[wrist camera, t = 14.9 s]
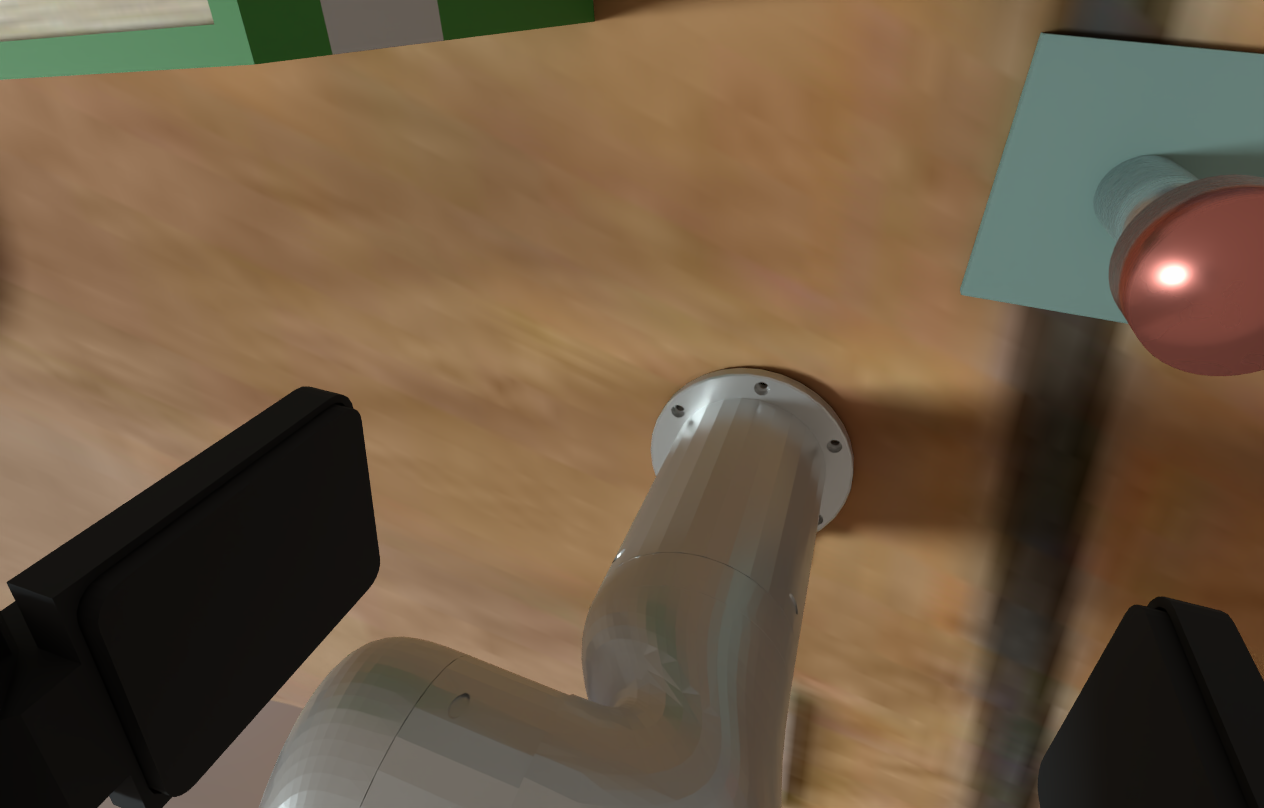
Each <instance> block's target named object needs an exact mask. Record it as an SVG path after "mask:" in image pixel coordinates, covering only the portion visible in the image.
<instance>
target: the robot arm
mask: <svg viewBox="0 0 1264 808" xmlns="http://www.w3.org/2000/svg"><path fill="white" fill-rule="evenodd" d="M760 382H764V383H766V384H767V385H762V384H761V383H760ZM679 405H680V406H682V407H683V408H682V407H680V406H679ZM832 440H837V441H838V442H834V441H832ZM651 456H652V465H653V468H654V471H655V475H656V478H655V480H654V482H653V484H652V486H651V488H650V490H649V492H648V494H647V496H646V498H645V500H644V502H643V504H642V506H641V508H640V509H639V511H638V513H637V515H636V517H635V519H634V521H633V523H632V525H631V527H630V529H629V531H628V533H627V535H626V537H625V539H624V541H623V543H622V545H621V547H620V549H619V551H618V553H617V555H616V557H615V559H614V561H613V563H612V565H611V567H610V569H609V570H608V572H607V574H606V576H605V578H604V580H603V582H602V584H601V586H600V588H599V590H598V592H597V594H596V596H595V598H594V600H593V602H592V604H591V607H590V609H589V612H588V615H587V618H586V622H585V627H584V631H583V637H582V669H583V675H584V682H585V688H586V692H587V696H588V700H587V699H584V698H581V697H579V696H576V695H573V694H572V695H567V694H565V693H562V692H560V691H557V690H555V689H552V688H550V687H547V686H545V685H542V684H539V683H537V682H534V681H532V680H529V679H527V678H524V677H522V676H519V675H517V674H514V673H512V672H509V671H507V670H504V669H502V668H499V667H497V666H494V665H492V664H489V663H487V662H484V661H482V660H479V659H477V658H474V657H472V656H469V655H467V654H464V653H462V652H459V651H456V650H454V649H451V648H449V647H446V646H442V645H439V644H436V643H433V642H430V641H426V640H422V639H417V638H409V637H391V638H384V639H380V640H377V641H373V642H370V643H368V644H366V645H364V646H362V647H360V648H359V649H357V650H355V651H353V652H352V653H351V654H349V655H348V656H347V657H345V658H344V659H343V660H342V661H341V662H340V663H339V664H338V665H337V666H336V667H335V668H334V669H333V670H332V671H331V672H330V673H329V674H328V675H327V676H326V678H325V679H324V680H323V681H322V683H321V684H320V685H319V686H318V688H317V689H316V690H315V692H314V693H313V695H312V696H311V698H310V699H309V701H308V702H307V704H306V705H305V707H304V708H303V710H302V712H301V714H300V715H299V717H298V719H297V721H296V723H295V725H294V727H293V729H292V731H291V733H290V735H289V737H288V739H287V740H286V743H285V745H284V747H283V749H282V751H281V753H280V755H279V757H278V760H277V762H276V765H275V767H274V769H273V772H272V774H271V777H270V779H269V782H268V784H267V787H266V789H265V792H264V795H263V798H262V801H261V803H260V806H259V808H782V803H781V788H782V761H783V750H784V739H785V728H786V721H787V713H788V706H789V699H790V692H791V686H792V679H793V673H794V667H795V661H796V654H797V648H798V642H799V636H800V630H801V624H802V618H803V612H804V606H805V600H806V594H807V588H808V582H809V576H810V570H811V564H812V558H813V552H814V546H815V539H816V533H817V532H818V531H820V530H821V529H823V528H824V527H825V526H826V525H827V524H828V523H830V522H831V521H832V520H833V519H834V518H835V517H836V516H837V514H838V513H839V511H840V510H841V509H842V507H843V506H844V504H845V502H846V500H847V497H848V495H849V492H850V490H851V485H852V478H853V465H854V456H853V451H852V446H851V441H850V438H849V436H848V434H847V431H846V429H845V427H844V425H843V423H842V421H841V420H840V419H839V417H838V416H837V414H836V413H835V412H834V410H833V409H832V407H831V406H829V405H828V404H827V403H826V402H825V401H824V400H823V399H822V398H821V397H820V396H819V395H818V394H817V393H815V392H814V391H812V390H811V389H809V388H808V387H806V386H805V385H803V384H802V383H800V382H798V381H795V380H793V379H791V378H789V377H786V376H784V375H782V374H778V373H774V372H770V371H766V370H762V369H752V368H733V369H723V370H719V371H715V372H712V373H708V374H705V375H702V376H700V377H698V378H696V379H695V380H693V381H691V382H689V383H687V384H686V385H685V386H683V387H682V388H681V389H680V390H679V391H677V392H676V393H675V394H674V395H673V396H672V398H671V399H670V400H669V401H668V403H667V404H666V405H665V407H664V408H663V410H662V412H661V414H660V416H659V417H658V419H657V422H656V425H655V428H654V431H653V434H652V442H651ZM379 567H380V555H379V547H378V540H377V532H376V525H375V517H374V510H373V502H372V495H371V487H370V480H369V472H368V465H367V457H366V450H365V442H364V435H363V427H362V420H361V416H360V414H359V412H358V411H357V410H355V409H353V406H352V403H351V401H350V400H349V398H348V397H346V396H344V395H341V394H337V393H333V392H329V391H325V390H321V389H317V388H313V387H300V388H298V389H296V390H294V391H293V392H291V393H290V394H288V395H287V396H285V397H284V398H282V399H281V400H279V401H278V402H276V403H275V404H273V405H272V406H270V407H269V408H267V409H266V410H264V411H263V412H261V413H260V414H258V415H257V416H255V417H254V418H252V419H251V420H249V421H248V422H246V423H245V424H243V425H242V426H240V427H239V428H237V429H236V430H234V431H233V432H231V433H230V434H228V435H227V436H225V437H224V438H222V439H221V440H219V441H218V442H216V443H215V444H213V445H212V446H210V447H209V448H207V449H206V450H204V451H203V452H201V453H200V454H198V455H197V456H195V457H194V458H192V459H191V460H189V461H188V462H186V463H185V464H183V465H182V466H180V467H179V468H177V469H176V470H174V471H173V472H171V473H170V474H168V475H167V476H165V477H164V478H162V479H161V480H159V481H158V482H156V483H155V484H153V485H152V486H150V487H149V488H147V489H146V490H144V491H143V492H141V493H140V494H138V495H137V496H135V497H134V498H132V499H131V500H129V501H128V502H126V503H125V504H123V505H122V506H120V507H119V508H117V509H116V510H114V511H113V512H111V513H110V514H108V515H107V516H105V517H104V518H102V519H101V520H99V521H98V522H96V523H95V524H93V525H92V526H90V527H89V528H87V529H86V530H84V531H83V532H81V533H80V534H78V535H77V536H75V537H74V538H72V539H71V540H69V541H68V542H66V543H65V544H63V545H62V546H60V547H59V548H57V549H56V550H54V551H53V552H51V553H50V554H48V555H47V556H45V557H44V558H42V559H41V560H39V561H38V562H36V563H35V564H33V565H32V566H30V567H29V568H27V569H26V570H24V571H23V572H21V573H20V574H18V575H17V576H15V577H14V578H12V579H11V580H9V581H8V582H7V584H8V586H9V588H10V591H11V593H12V595H13V597H14V599H15V602H13V603H12V604H10V605H9V606H7V607H6V608H5V609H3V610H2V611H0V808H97V807H98V806H99V805H100V804H101V803H102V802H103V801H104V800H105V799H106V798H107V797H108V796H109V797H110V798H111V801H112V803H113V804H114V805H116V806H119V807H121V808H163V806H164V805H165V804H166V803H167V802H168V801H169V800H170V799H171V798H172V797H177V796H180V795H182V794H184V793H185V792H187V791H188V790H189V789H191V788H192V787H193V786H194V785H195V784H196V783H197V782H198V781H199V779H200V778H201V777H202V776H203V775H204V774H205V773H206V772H207V770H208V769H209V768H210V767H211V766H212V765H213V764H214V762H215V761H216V760H217V759H218V758H219V757H220V756H221V755H222V753H223V752H224V751H225V750H226V749H227V748H228V747H229V745H230V744H231V743H232V742H233V741H234V740H235V739H236V738H237V737H238V735H239V734H240V733H241V732H242V731H243V730H244V729H245V728H246V726H247V725H248V724H249V723H250V722H251V721H252V720H253V719H254V717H255V716H256V715H257V714H258V713H259V712H260V711H261V709H262V708H263V707H264V706H265V705H266V704H267V703H268V702H269V701H270V699H271V698H272V697H273V696H274V695H275V694H276V693H277V692H278V690H279V689H280V688H281V687H282V686H283V685H284V684H285V683H286V681H287V680H288V679H289V678H290V677H291V676H292V675H293V674H294V672H295V671H296V670H297V669H298V668H299V667H300V666H301V665H302V663H303V662H304V661H305V660H306V659H307V658H308V657H309V656H310V654H311V653H312V652H313V651H314V650H315V649H316V648H317V647H318V645H319V644H320V643H321V642H322V641H323V640H324V639H325V637H326V636H327V635H328V634H329V633H330V632H331V631H332V630H333V628H334V627H335V626H336V625H337V624H338V623H339V622H340V621H341V619H342V618H343V617H344V616H345V615H346V614H347V613H348V612H349V610H350V609H351V608H352V607H353V606H354V605H355V604H356V603H357V601H358V600H359V599H360V598H361V597H362V596H363V595H364V594H365V592H366V591H367V590H368V589H369V588H370V587H371V585H372V584H373V583H374V581H375V579H376V577H377V574H378V571H379ZM1038 796H1039V802H1040V808H1264V681H1263V679H1262V677H1261V675H1260V673H1259V671H1258V669H1257V667H1256V665H1255V663H1254V661H1253V659H1252V657H1251V655H1250V653H1249V651H1248V649H1247V647H1246V645H1245V643H1244V641H1243V639H1242V637H1241V635H1240V633H1239V632H1238V630H1237V628H1236V626H1235V624H1234V622H1233V621H1232V619H1231V618H1230V617H1229V615H1228V614H1226V613H1224V612H1222V611H1220V610H1216V609H1212V608H1208V607H1204V606H1199V605H1195V604H1191V603H1187V602H1183V601H1179V600H1175V599H1171V598H1167V597H1156V598H1155V599H1153V600H1152V601H1151V602H1150V603H1149V604H1148V606H1147V607H1146V606H1142V605H1133V606H1132V607H1130V608H1129V609H1128V611H1127V612H1126V613H1125V615H1124V617H1123V619H1122V620H1121V622H1120V624H1119V626H1118V627H1117V629H1116V631H1115V633H1114V634H1113V636H1112V638H1111V640H1110V642H1109V643H1108V645H1107V647H1106V649H1105V650H1104V652H1103V654H1102V656H1101V657H1100V659H1099V661H1098V663H1097V664H1096V666H1095V668H1094V670H1093V671H1092V673H1091V675H1090V677H1089V678H1088V680H1087V682H1086V684H1085V685H1084V687H1083V689H1082V691H1081V693H1080V694H1079V696H1078V698H1077V700H1076V701H1075V703H1074V705H1073V707H1072V708H1071V710H1070V712H1069V714H1068V715H1067V717H1066V719H1065V721H1064V722H1063V724H1062V726H1061V728H1060V729H1059V731H1058V733H1057V735H1056V736H1055V738H1054V740H1053V742H1052V744H1051V745H1050V747H1049V749H1048V751H1047V752H1046V754H1045V756H1044V758H1043V760H1042V762H1041V765H1040V769H1039V775H1038Z"/></svg>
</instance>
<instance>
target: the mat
mask: <svg viewBox="0 0 1264 808" xmlns="http://www.w3.org/2000/svg"><path fill="white" fill-rule="evenodd" d="M1142 155H1158V156H1163V157H1166V158H1169V159H1171V160H1173V161H1174V162H1176V163H1177V164H1178V165H1180V166H1181V167H1183V168H1184V169H1185V170H1187V171H1188V172H1190V173H1191V174H1192V175H1194V176H1195V177H1197V178H1198V179H1203V178H1206V177H1212V176H1218V175H1231V174H1240V175H1252V176H1257V177H1262V178H1264V54H1263V53H1252V52H1242V51H1231V50H1221V49H1210V48H1200V47H1189V46H1178V45H1168V44H1157V43H1147V42H1136V41H1125V40H1115V39H1104V38H1094V37H1083V36H1072V35H1062V34H1051V33H1041V34H1040V37H1039V40H1038V43H1037V47H1036V50H1035V53H1034V56H1033V59H1032V62H1031V66H1030V69H1029V72H1028V75H1027V78H1026V82H1025V85H1024V88H1023V91H1022V94H1021V97H1020V101H1019V104H1018V107H1017V110H1016V113H1015V116H1014V120H1013V123H1012V126H1011V129H1010V132H1009V136H1008V139H1007V142H1006V145H1005V148H1004V151H1003V155H1002V158H1001V161H1000V164H999V167H998V171H997V174H996V177H995V180H994V183H993V186H992V190H991V193H990V196H989V199H988V202H987V205H986V209H985V212H984V215H983V218H982V221H981V225H980V228H979V231H978V234H977V237H976V240H975V244H974V247H973V250H972V253H971V256H970V260H969V263H968V266H967V269H966V272H965V275H964V279H963V282H962V285H961V288H960V292H961V295H966V296H971V297H977V298H983V299H989V300H994V301H1000V302H1006V303H1012V304H1018V305H1023V306H1029V307H1035V308H1041V309H1047V310H1052V311H1058V312H1064V313H1070V314H1076V315H1081V316H1087V317H1093V318H1099V319H1104V320H1110V321H1116V322H1122V323H1128V322H1127V320H1126V319H1125V317H1124V316H1123V314H1122V313H1121V311H1120V310H1119V308H1118V306H1117V305H1116V303H1115V301H1114V299H1113V296H1112V293H1111V290H1110V286H1109V264H1110V259H1111V256H1112V253H1113V250H1114V247H1115V245H1116V242H1115V241H1114V240H1113V238H1112V237H1111V236H1110V235H1109V233H1108V232H1107V231H1106V230H1105V228H1104V227H1103V226H1102V224H1101V223H1100V222H1099V221H1098V219H1097V217H1096V215H1095V212H1094V207H1093V201H1094V195H1095V192H1096V189H1097V187H1098V185H1099V183H1100V182H1101V180H1102V179H1103V178H1104V176H1105V175H1106V174H1107V173H1108V172H1109V171H1110V170H1111V169H1113V168H1114V167H1115V166H1117V165H1118V164H1120V163H1122V162H1124V161H1126V160H1128V159H1131V158H1134V157H1137V156H1142Z"/></svg>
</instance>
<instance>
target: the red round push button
mask: <svg viewBox="0 0 1264 808" xmlns="http://www.w3.org/2000/svg"><path fill="white" fill-rule="evenodd" d="M1093 207H1094V212H1095V215H1096V217H1097V219H1098V221H1099V222H1100V223H1101V224H1102V226H1103V227H1104V228H1105V230H1106V231H1107V232H1108V233H1109V235H1110V236H1111V237H1112V238H1113V240H1114V241H1115V242H1116V245H1115V247H1114V250H1113V253H1112V256H1111V259H1110V264H1109V286H1110V290H1111V293H1112V296H1113V299H1114V301H1115V303H1116V305H1117V306H1118V308H1119V310H1120V311H1121V313H1122V314H1123V316H1124V317H1125V319H1126V320H1127V322H1128V324H1129V325H1130V327H1131V328H1132V330H1133V331H1134V333H1135V334H1136V336H1137V338H1138V339H1139V341H1140V342H1141V343H1142V344H1143V346H1144V347H1145V348H1146V349H1147V350H1148V351H1149V352H1150V353H1151V354H1152V355H1153V356H1155V357H1156V358H1158V359H1159V360H1160V361H1162V362H1164V363H1166V364H1168V365H1170V366H1172V367H1174V368H1177V369H1179V370H1182V371H1185V372H1190V373H1194V374H1200V375H1208V376H1231V375H1241V374H1246V373H1252V372H1256V371H1260V370H1264V178H1262V177H1257V176H1252V175H1240V174H1231V175H1218V176H1212V177H1206V178H1203V179H1198V178H1197V177H1195V176H1194V175H1192V174H1191V173H1190V172H1188V171H1187V170H1185V169H1184V168H1183V167H1181V166H1180V165H1178V164H1177V163H1176V162H1174V161H1173V160H1171V159H1169V158H1166V157H1163V156H1158V155H1142V156H1137V157H1134V158H1131V159H1128V160H1126V161H1124V162H1122V163H1120V164H1118V165H1117V166H1115V167H1114V168H1113V169H1111V170H1110V171H1109V172H1108V173H1107V174H1106V175H1105V176H1104V178H1103V179H1102V180H1101V182H1100V183H1099V185H1098V187H1097V189H1096V192H1095V195H1094V201H1093Z"/></svg>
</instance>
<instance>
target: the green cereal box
mask: <svg viewBox="0 0 1264 808" xmlns="http://www.w3.org/2000/svg"><path fill="white" fill-rule="evenodd" d="M594 21H595V18H594V6H593V0H0V80H2V79H19V78H35V77H52V76H69V75H85V74H102V73H119V72H136V71H152V70H169V69H186V68H203V67H219V66H236V65H253V64H262V63H270V62H277V61H285V60H293V59H301V58H309V57H317V56H325V55H333V54H341V53H349V52H357V51H365V50H372V49H380V48H388V47H396V46H404V45H412V44H420V43H428V42H436V41H444V40H452V39H460V38H467V37H475V36H483V35H491V34H499V33H507V32H515V31H523V30H531V29H539V28H547V27H555V26H562V25H570V24H578V23H586V22H594Z"/></svg>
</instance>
